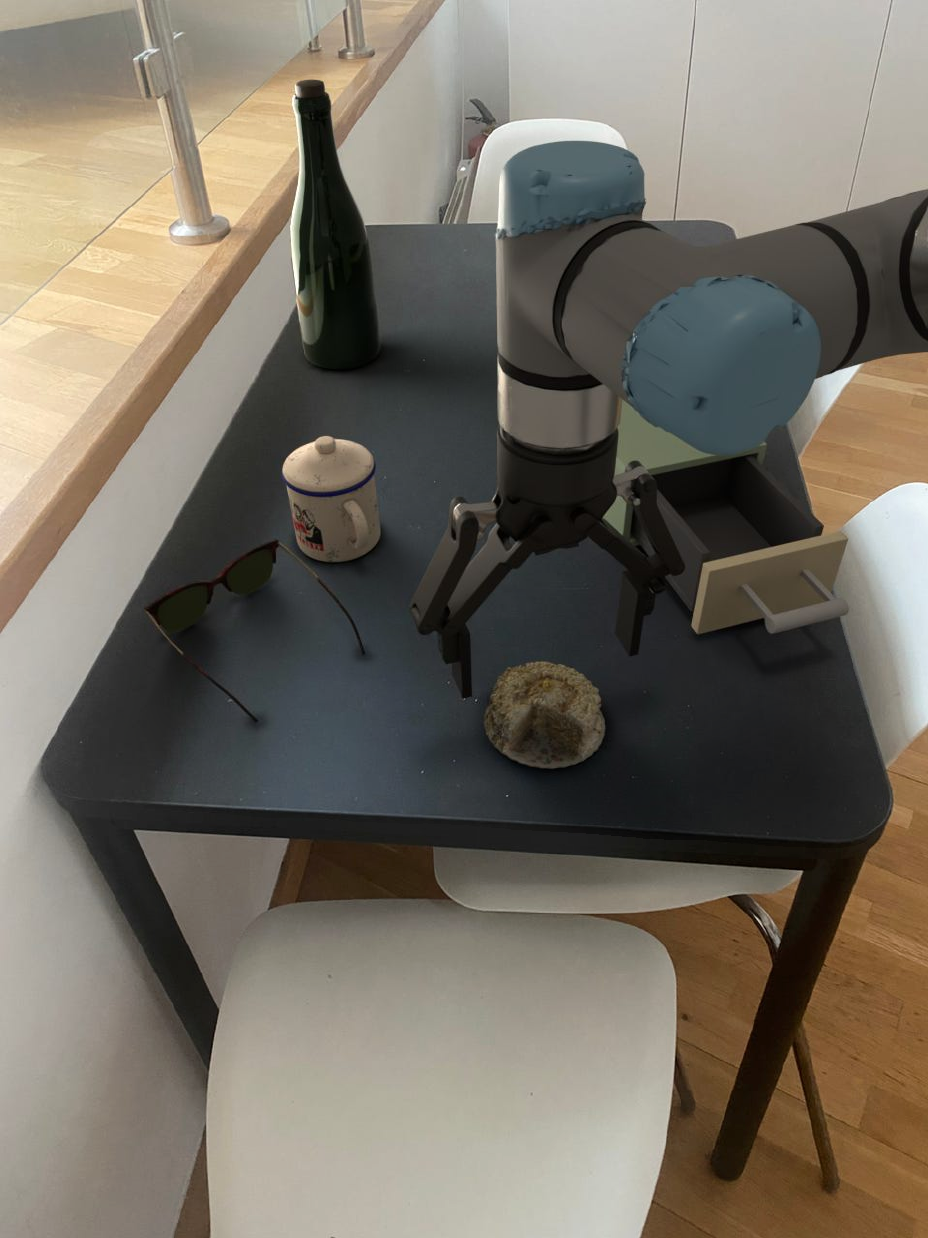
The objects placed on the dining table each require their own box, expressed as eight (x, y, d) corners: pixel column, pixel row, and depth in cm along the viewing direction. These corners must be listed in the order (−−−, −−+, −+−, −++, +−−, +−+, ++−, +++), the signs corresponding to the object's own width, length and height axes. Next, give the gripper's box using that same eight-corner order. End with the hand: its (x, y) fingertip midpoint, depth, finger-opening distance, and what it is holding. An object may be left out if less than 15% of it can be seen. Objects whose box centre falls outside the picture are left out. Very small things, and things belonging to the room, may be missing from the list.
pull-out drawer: (867, 642, 80) (890, 578, 75) (730, 679, 78) (745, 615, 73) (731, 498, 97) (744, 437, 92) (614, 524, 94) (621, 463, 89)
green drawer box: (750, 520, 95) (767, 444, 89) (621, 549, 92) (629, 472, 86) (668, 431, 109) (677, 360, 102) (552, 455, 106) (555, 382, 99)
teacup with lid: (282, 529, 96) (262, 432, 89) (360, 502, 100) (348, 406, 92) (327, 593, 89) (310, 493, 81) (411, 562, 92) (402, 462, 84)
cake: (477, 691, 79) (476, 643, 76) (591, 682, 80) (595, 633, 77) (491, 777, 71) (490, 727, 68) (617, 765, 72) (623, 715, 69)
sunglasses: (283, 573, 91) (277, 534, 88) (378, 656, 84) (376, 618, 80) (153, 644, 84) (141, 605, 80) (244, 742, 77) (235, 704, 73)
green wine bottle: (361, 377, 121) (329, 95, 99) (291, 365, 124) (244, 89, 101) (393, 342, 128) (370, 72, 106) (326, 332, 131) (290, 67, 109)
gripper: (709, 362, 62) (669, 598, 76) (346, 429, 57) (377, 669, 71) (769, 416, 57) (714, 659, 71) (375, 496, 51) (402, 740, 66)
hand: (545, 664), depth 71 cm, fingers open, 13 cm apart
